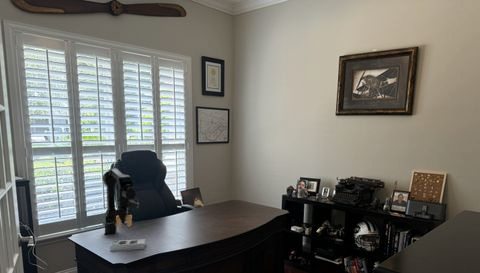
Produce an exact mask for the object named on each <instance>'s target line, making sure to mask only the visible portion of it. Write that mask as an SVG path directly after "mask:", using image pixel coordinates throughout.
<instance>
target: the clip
mask: <svg viewBox="0 0 480 273" xmlns="http://www.w3.org/2000/svg"><path fill="white" fill-rule="evenodd" d="M132 219H133V215H132V214H127V215H126V218H125V220H126V221H127V222H126V227H127V228H128V227H131V226H132ZM116 221H117V224H116V225H117V228H120V227H121V226H122V222H121V220H120V218H119V216H118V215H117V216H116Z"/></svg>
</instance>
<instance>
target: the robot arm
mask: <svg viewBox="0 0 480 273" xmlns="http://www.w3.org/2000/svg"><path fill="white" fill-rule="evenodd" d="M102 181H103V184H104V186H105V187H106V205H107V207H106V208H107V209H106V211H105V213H104V217H103V219H102V225H103V226H104V234H103V235H104V236H107V235H108V236H109V235H110V236H111V235H115V234H116V233H117V232H118V227H117V221H116V216H117V215H118V216H119V218H120V220H121V225H122V224H125V223H127V222H126V221H127V220H125V218H126V215H129V212H130V211H131V208H132V209H135V210H137V209H138V208H139V206H140V202H139V199H137V198H135V197H136V194H137V193H136V191H135V189H133V188H134V182H133V178H132V177H131V176H130V175H129V174H124V173H122V172H121V171H120V170H119V168H110V169H109V170H108V171H106V172H104V173H103V176H102ZM116 184H117V186H118V200H117V201H118V206H117V209H116V198H115V194H116V193H115V186H116ZM134 198H135V199H134ZM133 199H134V200H133Z"/></svg>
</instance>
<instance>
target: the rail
mask: <svg viewBox="0 0 480 273" xmlns="http://www.w3.org/2000/svg"><path fill="white" fill-rule="evenodd" d="M145 246H146V239H145V238H143V239H129V240H128V239H127V240H113V241H112V242H111V244H110V245H109V252H115V251H130V250H131V251H133V250H134V251H135V250H144V249H145Z"/></svg>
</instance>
